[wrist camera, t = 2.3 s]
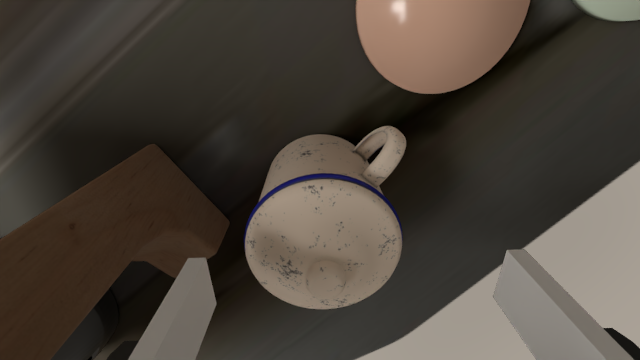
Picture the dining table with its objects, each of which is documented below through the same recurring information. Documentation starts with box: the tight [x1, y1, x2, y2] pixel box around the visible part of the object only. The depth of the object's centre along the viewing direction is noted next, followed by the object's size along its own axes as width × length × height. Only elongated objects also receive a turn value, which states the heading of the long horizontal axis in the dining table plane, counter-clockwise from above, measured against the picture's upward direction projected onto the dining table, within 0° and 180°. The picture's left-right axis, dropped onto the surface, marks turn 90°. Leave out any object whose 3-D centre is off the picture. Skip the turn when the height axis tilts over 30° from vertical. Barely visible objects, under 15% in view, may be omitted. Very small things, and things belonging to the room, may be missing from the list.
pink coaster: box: [355, 0, 530, 94], centre depth 19 cm, size 11×11×1 cm
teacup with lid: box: [244, 126, 406, 309], centre depth 19 cm, size 12×9×12 cm
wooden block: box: [0, 144, 230, 360], centre depth 17 cm, size 9×4×18 cm, turn 34°
